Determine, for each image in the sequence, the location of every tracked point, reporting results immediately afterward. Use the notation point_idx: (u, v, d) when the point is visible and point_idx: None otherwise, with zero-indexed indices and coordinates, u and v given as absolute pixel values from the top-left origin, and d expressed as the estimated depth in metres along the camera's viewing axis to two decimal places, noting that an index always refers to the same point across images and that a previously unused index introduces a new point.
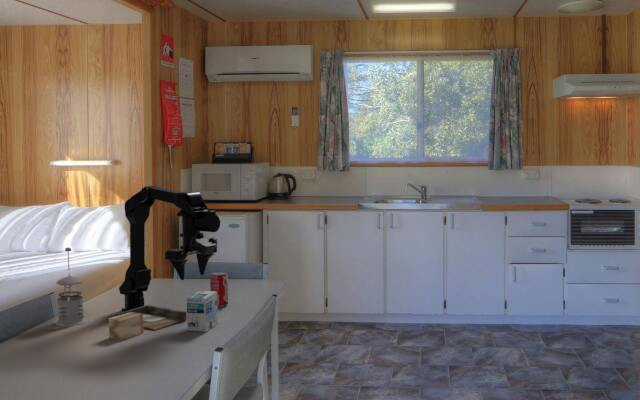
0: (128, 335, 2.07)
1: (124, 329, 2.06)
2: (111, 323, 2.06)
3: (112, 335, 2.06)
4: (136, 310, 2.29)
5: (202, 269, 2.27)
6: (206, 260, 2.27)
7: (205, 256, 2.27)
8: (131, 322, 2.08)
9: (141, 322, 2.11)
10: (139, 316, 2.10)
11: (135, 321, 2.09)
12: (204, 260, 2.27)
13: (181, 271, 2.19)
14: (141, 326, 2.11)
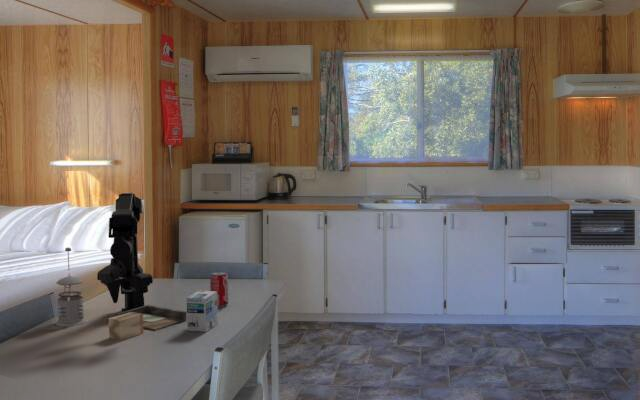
0: (128, 335, 2.07)
1: (124, 329, 2.06)
2: (111, 323, 2.06)
3: (112, 335, 2.06)
4: (136, 310, 2.29)
5: None
6: (133, 292, 2.04)
7: None
8: (131, 322, 2.08)
9: (141, 322, 2.11)
10: (139, 316, 2.10)
11: (135, 321, 2.09)
12: None
13: None
14: (141, 326, 2.11)
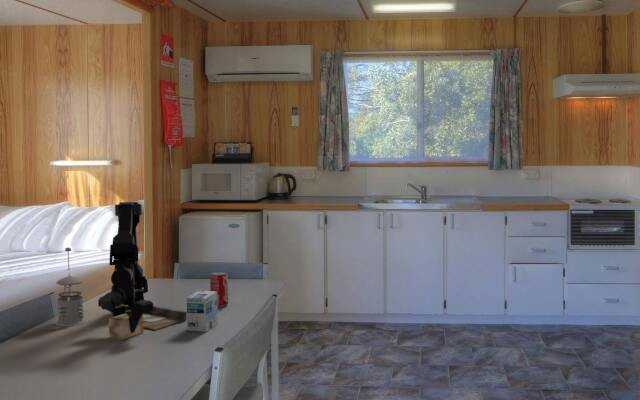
0: (128, 335, 2.07)
1: (124, 329, 2.06)
2: (111, 323, 2.06)
3: (112, 335, 2.06)
4: None
5: None
6: (130, 318, 2.06)
7: None
8: None
9: (141, 322, 2.11)
10: None
11: None
12: None
13: None
14: (141, 326, 2.11)
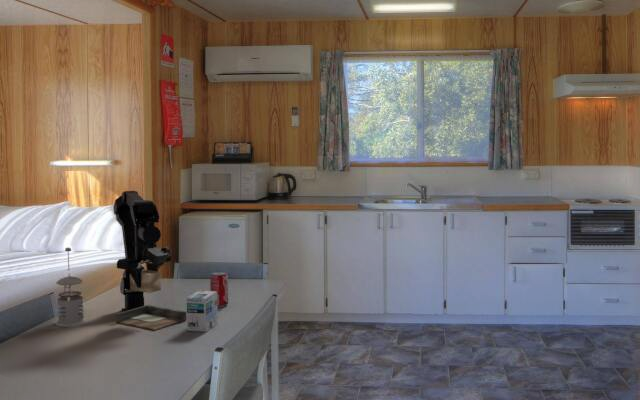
0: None
1: None
2: (151, 278, 2.21)
3: (152, 289, 2.21)
4: (136, 310, 2.29)
5: None
6: (155, 270, 2.26)
7: (154, 266, 2.26)
8: None
9: None
10: None
11: None
12: (153, 270, 2.26)
13: (137, 279, 2.21)
14: None
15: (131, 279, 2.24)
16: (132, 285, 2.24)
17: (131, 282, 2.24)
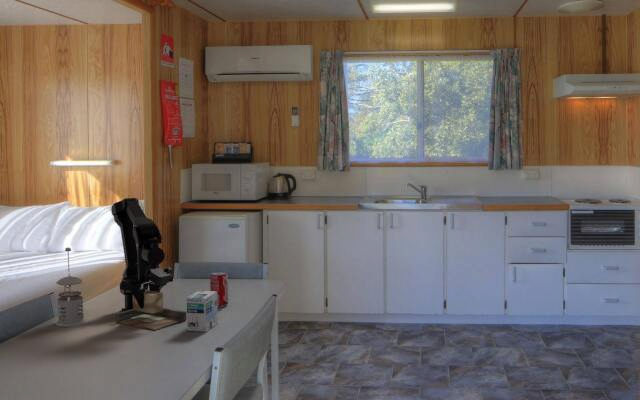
0: None
1: None
2: (154, 299, 2.23)
3: (155, 309, 2.23)
4: None
5: None
6: (158, 290, 2.28)
7: (157, 286, 2.28)
8: None
9: None
10: None
11: None
12: (156, 290, 2.28)
13: (140, 300, 2.23)
14: None
15: (134, 300, 2.26)
16: (135, 306, 2.26)
17: (134, 302, 2.26)
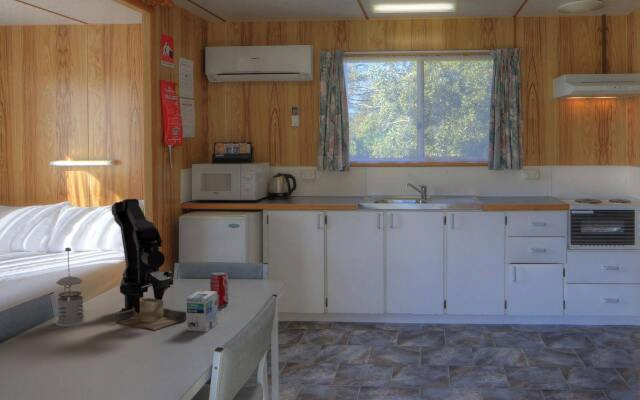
0: None
1: None
2: (154, 306, 2.23)
3: (155, 317, 2.23)
4: None
5: None
6: (162, 292, 2.30)
7: (161, 288, 2.30)
8: None
9: None
10: None
11: None
12: (160, 292, 2.30)
13: (136, 304, 2.21)
14: None
15: None
16: (135, 313, 2.26)
17: (134, 310, 2.27)
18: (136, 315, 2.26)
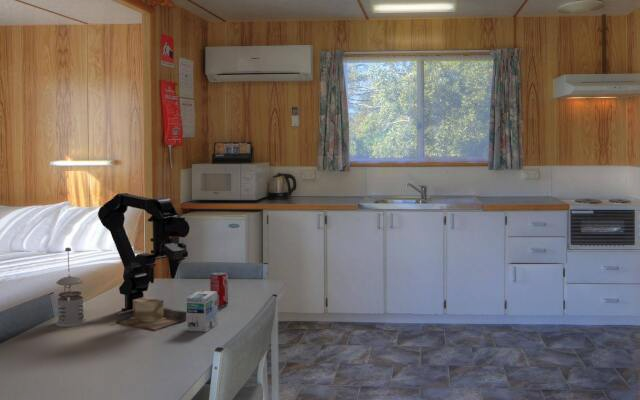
0: None
1: None
2: (154, 306, 2.23)
3: (155, 317, 2.23)
4: None
5: (173, 273, 2.35)
6: (177, 264, 2.35)
7: (176, 260, 2.35)
8: None
9: None
10: None
11: None
12: (175, 264, 2.35)
13: (150, 275, 2.27)
14: None
15: (134, 307, 2.26)
16: (135, 313, 2.26)
17: (134, 310, 2.27)
18: (136, 315, 2.26)
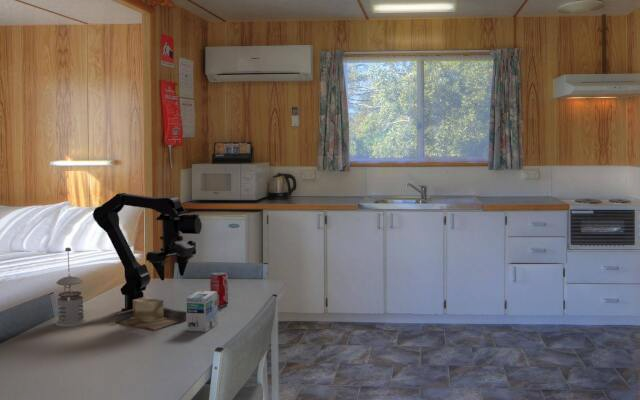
0: None
1: None
2: (154, 306, 2.23)
3: (155, 317, 2.23)
4: None
5: (182, 270, 2.40)
6: (185, 261, 2.39)
7: (184, 258, 2.39)
8: None
9: None
10: None
11: None
12: (184, 261, 2.39)
13: (161, 272, 2.31)
14: None
15: (134, 307, 2.26)
16: (135, 313, 2.26)
17: (134, 310, 2.27)
18: (136, 315, 2.26)
